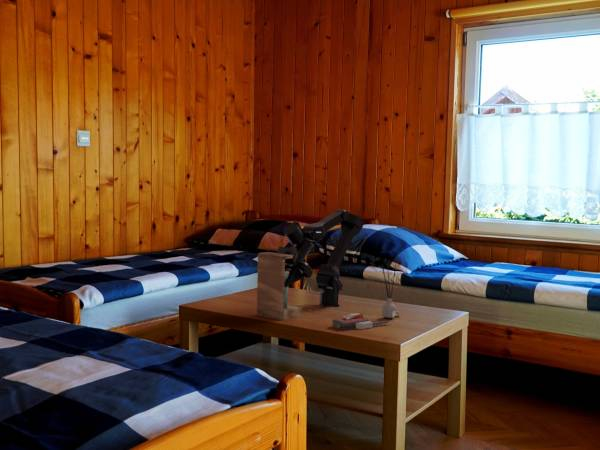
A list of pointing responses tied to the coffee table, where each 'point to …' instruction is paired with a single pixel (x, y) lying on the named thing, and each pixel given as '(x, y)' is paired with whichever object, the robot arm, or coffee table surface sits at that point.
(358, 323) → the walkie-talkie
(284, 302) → the tea tin
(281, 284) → the nook
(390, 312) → the reed diffuser
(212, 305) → the coffee table surface
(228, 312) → the coffee table surface
